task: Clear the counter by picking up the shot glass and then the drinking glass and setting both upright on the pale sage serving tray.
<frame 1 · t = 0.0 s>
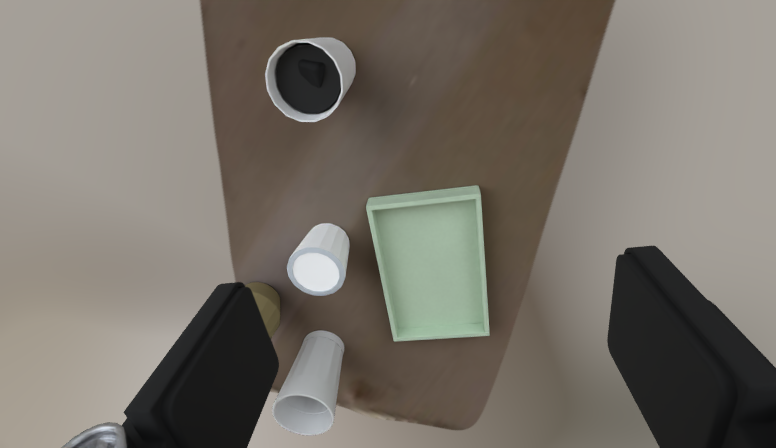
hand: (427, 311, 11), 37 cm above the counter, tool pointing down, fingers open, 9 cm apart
cup: (324, 345, 62), on the counter
squeeze bottle: (261, 296, 59), on the counter
tray: (432, 264, 54), on the counter
shot glass: (328, 241, 53), on the counter
drinking glass: (329, 66, 43), on the counter
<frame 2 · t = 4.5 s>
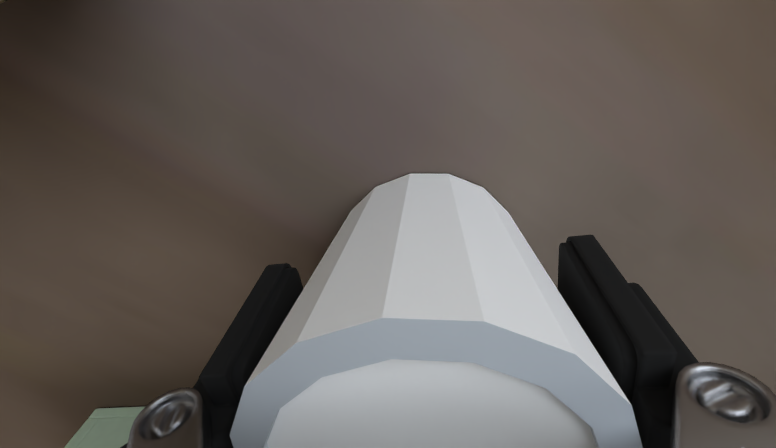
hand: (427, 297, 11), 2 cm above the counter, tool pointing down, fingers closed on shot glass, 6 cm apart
shot glass: (427, 251, 13), on the counter, touching gripper
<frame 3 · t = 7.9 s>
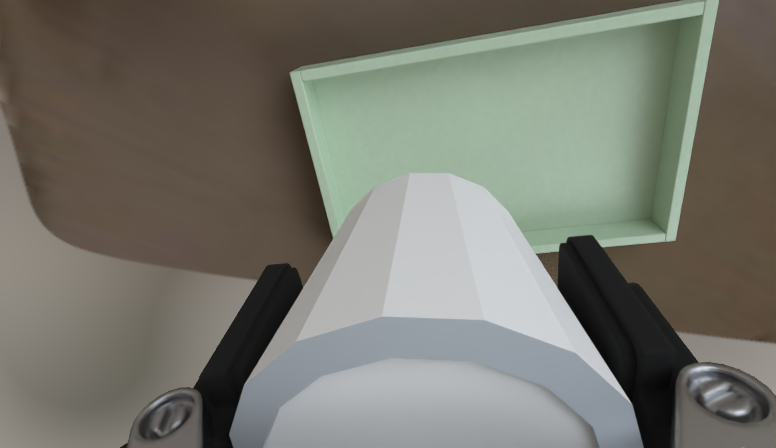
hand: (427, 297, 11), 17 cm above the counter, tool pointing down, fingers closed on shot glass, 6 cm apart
tray: (488, 148, 26), on the counter
shot glass: (427, 251, 13), point 14 cm above the counter, touching gripper
when the fingers open (3 cm above the counter, at t = 11.6 s): shot glass stays where it is, resting on tray.
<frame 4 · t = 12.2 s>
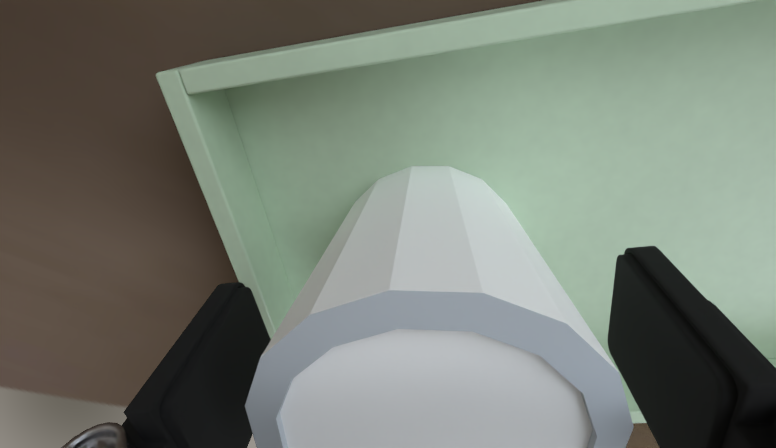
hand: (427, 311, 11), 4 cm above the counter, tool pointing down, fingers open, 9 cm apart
tray: (579, 222, 13), on the counter
shot glass: (428, 242, 14), resting on tray
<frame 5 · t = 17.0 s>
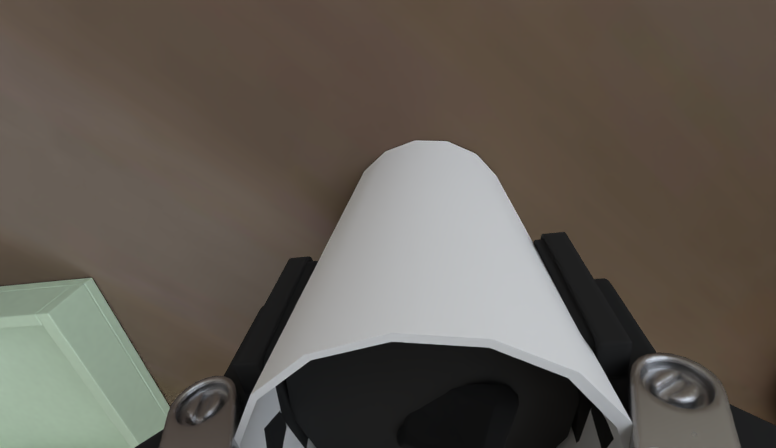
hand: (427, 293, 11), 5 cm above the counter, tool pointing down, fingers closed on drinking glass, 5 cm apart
drinking glass: (427, 211, 16), on the counter, touching gripper
when the fingers open (6 cm above the counter, at t = 25.3 s): drinking glass stays where it is, resting on tray.
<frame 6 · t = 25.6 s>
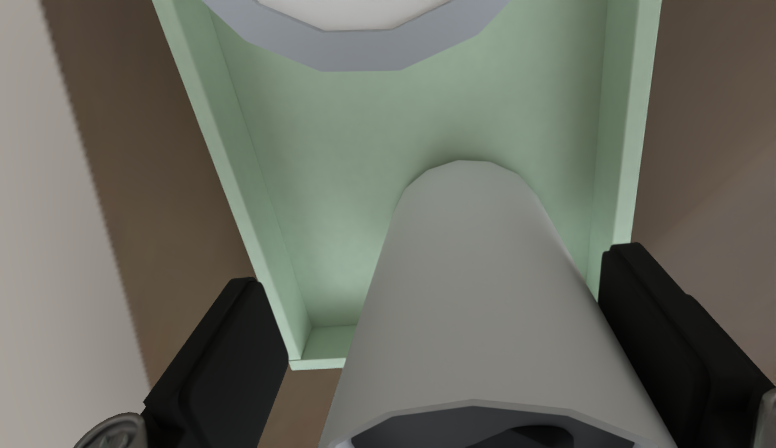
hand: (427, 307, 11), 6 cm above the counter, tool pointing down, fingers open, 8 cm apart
tray: (411, 85, 14), on the counter
drinking glass: (465, 227, 16), resting on tray, touching gripper
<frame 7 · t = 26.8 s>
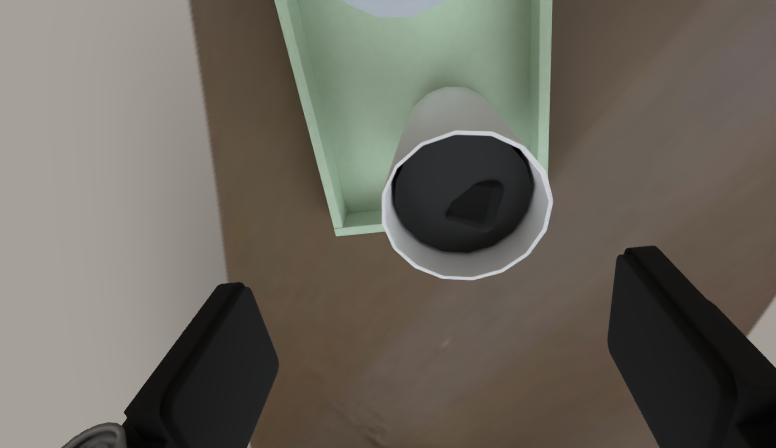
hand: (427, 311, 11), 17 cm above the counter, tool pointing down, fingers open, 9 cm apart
tray: (416, 39, 23), on the counter
drinking glass: (450, 134, 25), resting on tray
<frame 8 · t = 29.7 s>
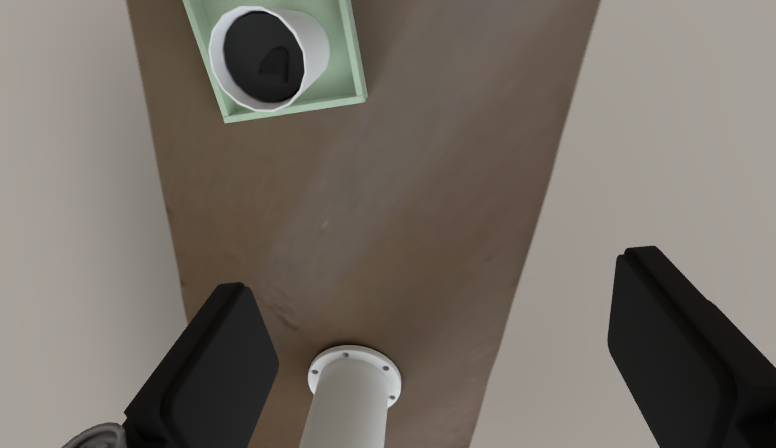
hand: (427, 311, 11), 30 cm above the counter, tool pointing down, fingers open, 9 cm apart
drinking glass: (299, 47, 36), resting on tray
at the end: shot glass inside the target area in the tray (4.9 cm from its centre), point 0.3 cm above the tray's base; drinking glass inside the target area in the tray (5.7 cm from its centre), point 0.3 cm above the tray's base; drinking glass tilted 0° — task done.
